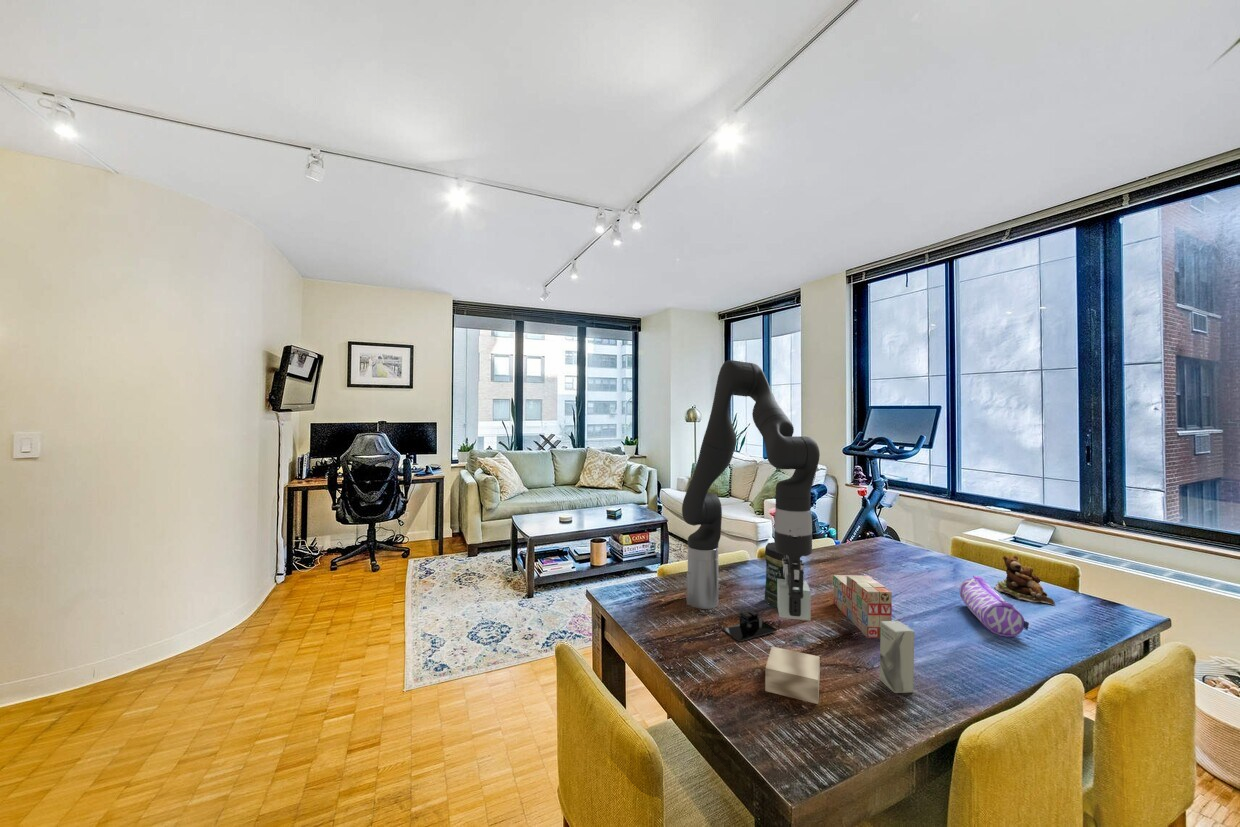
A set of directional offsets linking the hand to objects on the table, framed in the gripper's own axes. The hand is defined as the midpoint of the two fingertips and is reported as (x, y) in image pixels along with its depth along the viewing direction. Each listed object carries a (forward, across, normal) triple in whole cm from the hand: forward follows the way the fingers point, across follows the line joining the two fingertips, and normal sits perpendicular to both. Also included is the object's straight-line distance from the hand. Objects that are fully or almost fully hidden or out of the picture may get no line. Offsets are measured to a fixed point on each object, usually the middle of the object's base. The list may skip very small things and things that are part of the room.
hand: (793, 608), depth 96 cm
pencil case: (+16, -48, +57) cm, 76 cm away
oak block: (+16, 0, 0) cm, 16 cm away
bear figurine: (+16, -73, +78) cm, 108 cm away
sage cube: (+1, 0, 0) cm, 1 cm away
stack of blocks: (+16, -38, +22) cm, 47 cm away
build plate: (+18, -22, -8) cm, 29 cm away
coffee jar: (+16, -43, +1) cm, 46 cm away
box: (+16, -5, +21) cm, 27 cm away
